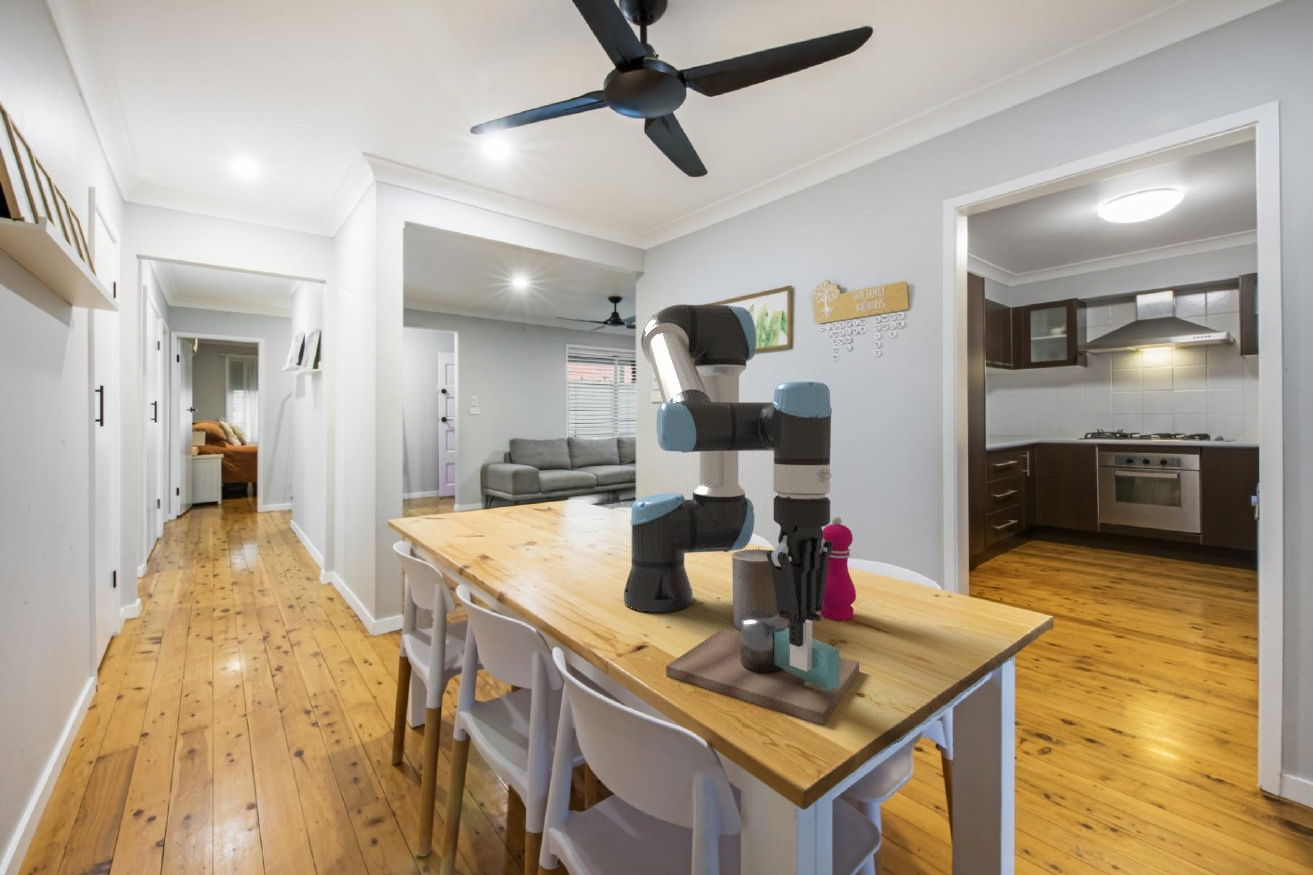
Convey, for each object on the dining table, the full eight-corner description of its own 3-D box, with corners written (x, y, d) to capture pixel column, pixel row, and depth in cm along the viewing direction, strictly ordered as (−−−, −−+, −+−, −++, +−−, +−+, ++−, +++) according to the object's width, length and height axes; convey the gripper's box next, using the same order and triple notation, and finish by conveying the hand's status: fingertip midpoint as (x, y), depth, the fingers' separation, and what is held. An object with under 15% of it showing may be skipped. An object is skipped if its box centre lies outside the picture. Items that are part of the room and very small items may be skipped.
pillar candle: (791, 622, 102) (790, 545, 102) (772, 639, 94) (771, 555, 94) (745, 614, 107) (744, 540, 107) (723, 628, 99) (722, 549, 99)
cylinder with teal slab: (816, 705, 68) (815, 653, 68) (731, 659, 82) (730, 616, 82) (850, 690, 72) (849, 641, 72) (763, 648, 86) (763, 608, 86)
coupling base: (666, 675, 80) (666, 664, 80) (721, 637, 95) (721, 628, 95) (823, 725, 67) (822, 712, 66) (859, 671, 81) (859, 660, 81)
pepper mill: (849, 624, 101) (849, 520, 101) (813, 616, 105) (812, 517, 105) (860, 614, 107) (860, 515, 106) (825, 607, 111) (825, 512, 111)
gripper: (799, 501, 65) (798, 691, 65) (850, 494, 73) (849, 662, 73) (750, 496, 71) (749, 671, 70) (803, 490, 79) (802, 646, 79)
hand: (800, 666), depth 72 cm, fingers closed
